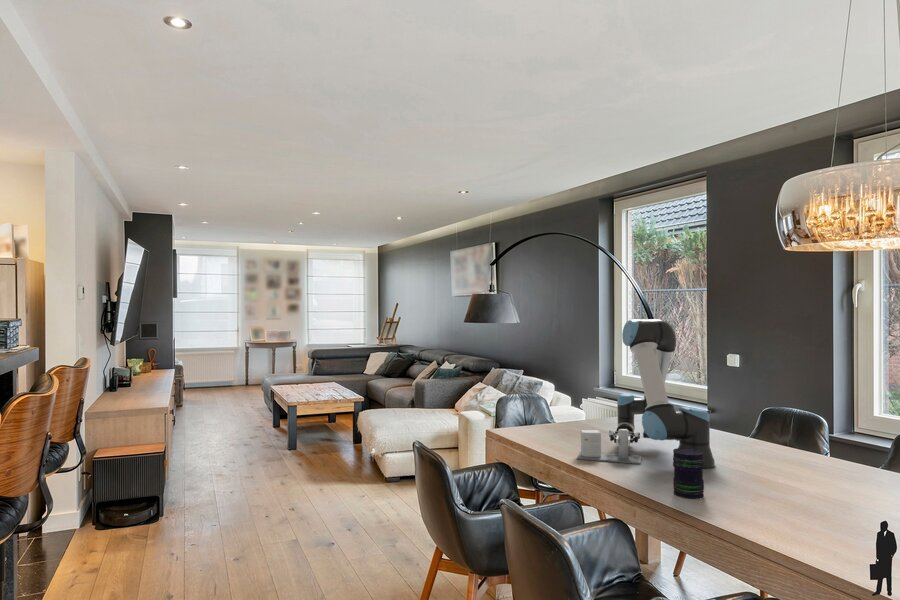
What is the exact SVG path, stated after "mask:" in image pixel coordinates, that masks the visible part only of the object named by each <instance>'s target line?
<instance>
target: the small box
mask: <svg viewBox="0 0 900 600" xmlns="http://www.w3.org/2000/svg"><path fill="white" fill-rule="evenodd" d="M601 435H602V434H601V432H600V430H599V429H595V430H593V429H592V430H591V429H581V430H580V451H581V454H582V456H583V457H601V453H602V436H601Z"/></svg>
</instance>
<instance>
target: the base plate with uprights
mask: <svg viewBox="0 0 900 600" xmlns="http://www.w3.org/2000/svg"><path fill="white" fill-rule="evenodd" d="M576 460H581V461H582V460H583V461H593V460H596V461H597V462H606V461H608V462H607V463H618V462H619V464H631V463H632V464H633V465H641V464H642V456H641V455H633V454H631V455H630V454H629V446H628V430H627V429H619V444H618V453H605V452H601V457H583V456H582V454H581V450H580V451H579V452H578V455H577V457H576ZM596 461H595V462H596Z"/></svg>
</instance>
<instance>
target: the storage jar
mask: <svg viewBox="0 0 900 600" xmlns="http://www.w3.org/2000/svg"><path fill="white" fill-rule="evenodd" d="M672 450H673V451H672V452H673V455H672V461H673V462H672V466H673V477H672V478H673V479H672V480H673V481H672V485H673V495H674V496H676V497H678V498H682V499H685V500H687V499H688V500H700V498H701V499H703V498H704V497H705V496H704V495H705V494H704V492H705V491H704V490H705V486H704V485H705V484H704V483H705V482H704V477H703V476H704V475H703V473H704V471H703V470H704V468H703V467H704V466H703V464H704V460H703V452H702V451H700V450H696V449H690V448H678V447H677V448H673V449H672Z"/></svg>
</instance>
